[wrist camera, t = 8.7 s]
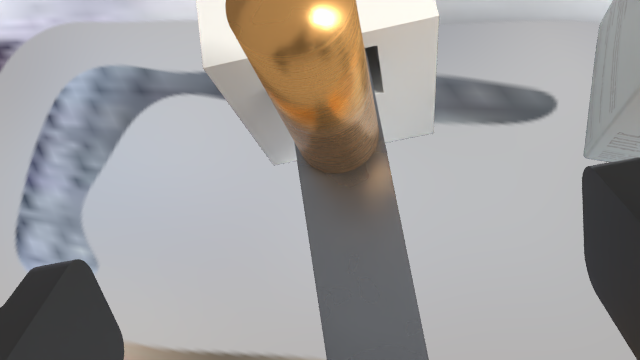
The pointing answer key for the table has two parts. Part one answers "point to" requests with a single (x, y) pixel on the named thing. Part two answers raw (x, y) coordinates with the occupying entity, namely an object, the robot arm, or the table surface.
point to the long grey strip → (338, 171)
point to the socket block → (384, 61)
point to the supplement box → (616, 86)
